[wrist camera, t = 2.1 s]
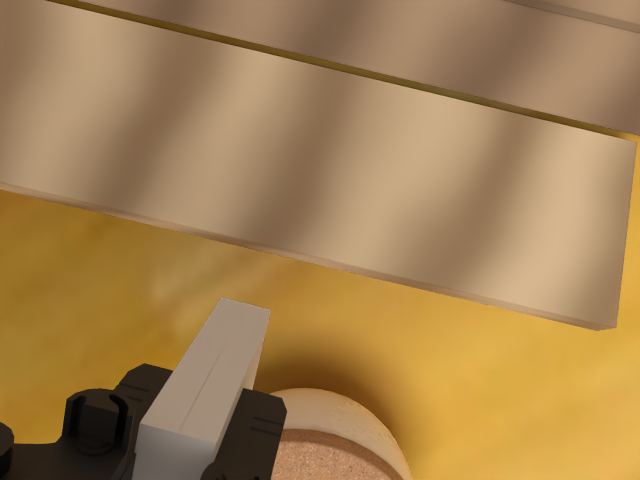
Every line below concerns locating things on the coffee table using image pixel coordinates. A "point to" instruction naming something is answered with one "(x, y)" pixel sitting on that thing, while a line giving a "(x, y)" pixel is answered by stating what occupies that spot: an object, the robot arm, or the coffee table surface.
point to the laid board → (451, 45)
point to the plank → (313, 163)
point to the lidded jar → (334, 440)
